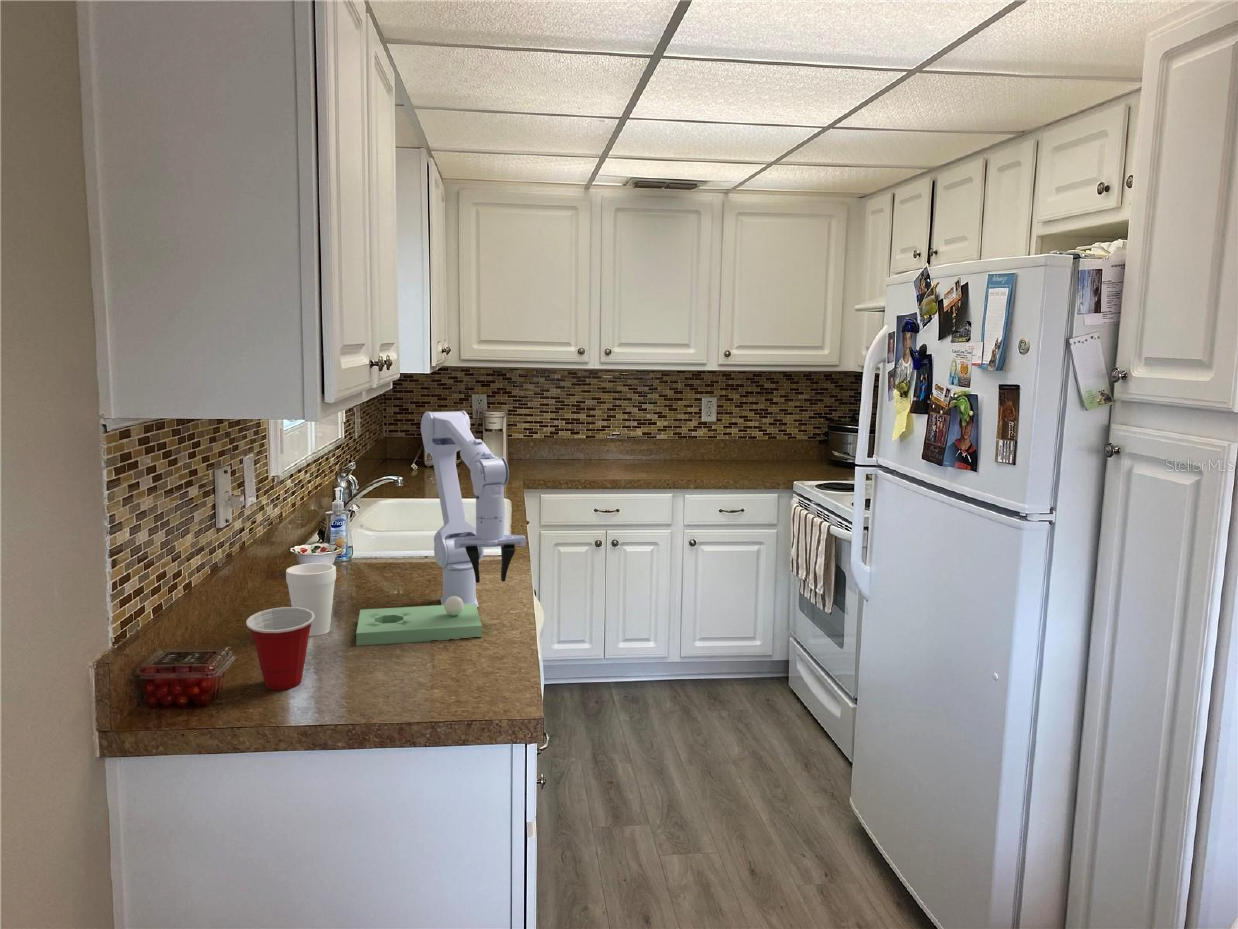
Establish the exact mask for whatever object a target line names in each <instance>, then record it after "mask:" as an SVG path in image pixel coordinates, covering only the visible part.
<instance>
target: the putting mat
mask: <svg viewBox="0 0 1238 929" xmlns="http://www.w3.org/2000/svg"><path fill="white" fill-rule="evenodd" d="M482 631H483V625H482V621H481V617H480V613H479V611H478V608H477V607H476V603H472V604H464V608H463V611H462V612H461V613H460V614H459V615H456V616H451V615H449V614H447V613H446V611H445V609H444V605H441V604H440V605H439V604H438V605H420V606H419V605H418V606H402V607H386V608H385V607H383V608H367V609H360V610H359V615H358V621H357V626H356V632H355V636H356V640H355V641H356V646H357V647H358V646H371V645H372V646H373V645H387V644H388V645H389V644H392V645H393V644H404V643H405V644H406V643H417V642H419V643H420V642H422V641H423V642H432V641H431V640H438V641H449V639H454V640H456V639H455V638H465V637H482V638H483V632H482ZM423 642H422V643H423Z"/></svg>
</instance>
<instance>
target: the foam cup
mask: <svg viewBox="0 0 1238 929" xmlns="http://www.w3.org/2000/svg"><path fill="white" fill-rule="evenodd" d="M285 578H286V579H285V582H286V584H287V588H288V592H289V593H288V594H289V599H290V603H291V607H298V608H304V609H308V610H310V611H312V612H313V613H314V616H315V618H314V620H313V621H312V624H311V628H310V633H309V637H315V636H321V635H325V634H327V633H328V632H329V631H330V630H331V619H332V612H333V602H334V590H335V583H336V579H337V567H336V566H335V565H334V564H331V563H324V562H318V563H317V562H313V563H312V562H311V563H304V564H297V565H292V566H290V567H287V568H286V571H285Z"/></svg>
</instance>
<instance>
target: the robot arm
mask: <svg viewBox="0 0 1238 929" xmlns="http://www.w3.org/2000/svg"><path fill="white" fill-rule="evenodd" d="M420 421H421V422H420V432H421V438H422V445H423V447H424V448H423V449H424V451H425V452H427V453H429V454H430V455H431V459H432V463H433V469H434V470H433V471H434V475H435V479H436V480H435V481H436V486H437V492H438V496H439V502H440V509H441V514H442V521H443V526H441V527H440V528H439V529H438V530H437V531H436V532H435V533H434V537H433V546H434V547H433V552H434V554H433V556H434V559H435V563H436V564H437V565H438V566H439V567H440V568H442V594H443V595H442V596H441V597H440V603H441V604H440V605H444V604H445V601H446V600H447V599H448V598H449V597H452V596H457V597H459V598H461V599H462V601H463V603H464V604H472V603H476V607H478V606H479V603H478V599H477V595H476V594H477V593H476V592H477V591H476V588H477V587H476V585H477V583H479V584H480V580H481V579H480V569H479V568H480V567H479V566H480V562H481V561H482V559H483V556H484V554H485V553H484V548H492V547H494V548H495V547H497V548H498V547H500V552H501V553H500V554H501V555H500V556H501V558H500V559H501V565H500V566H501V568H500V580H501V582H502V583H503V582H506V578H507V575H508V574H507V573H508V569H509V565H510V564H511V561H512V559H513V557H514V555H515V552H516V547H515V546H517V547H518V546H520V547H526V544H527V543H526V542H527V541H526V539H527V538H526V536H525V534H524V535H521V534H520V535H519V534H518V535H515V534H513V535H512V534H505V491H504V490H505V489H504V488H505V486H506V485H507V484H508V482H509V479H510V470H509V465H508V462H507V461H506V458H505V457H502V456H495V455H494V453H493V452H492V451H491V450H490V449H489V447H488V446H487V445H486V443H485V442H484V441H483V440H482V439H481V438H479V439H478V438H475V437H474V435H473V433H472V431H471V430H470V429H471V419H470V416H469V415H468V413H467V412H466V410H460V411H425V412H424V414H423V415H422V417H421V420H420ZM459 451H460V452H459ZM457 452H459V454H460V458H461V460H462V461H463V462H464V463H465V464H466V467H467V468H468V469H469V470H470V480H471V483H472V492H473V495H475V525H473V524H472V523H470V522H469V521H467V519H466V515H465V514H466V513H465V509H464V503H463V498H462V491H461V486H460V481H459V476H458V469H457V465H456V459H455V455H456V453H457ZM479 607H480V606H479Z"/></svg>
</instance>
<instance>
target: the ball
mask: <svg viewBox="0 0 1238 929" xmlns="http://www.w3.org/2000/svg"><path fill="white" fill-rule="evenodd" d="M463 608H464V603H463V601H462V599H461V598H459V597H457V596H452V597H449V598H448V599H447V600H446V601H445V604H444V609H445V611H446V613H447V614H449V615H451V616H456V615H459V614H460V613H461V612H462V611H463Z"/></svg>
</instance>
